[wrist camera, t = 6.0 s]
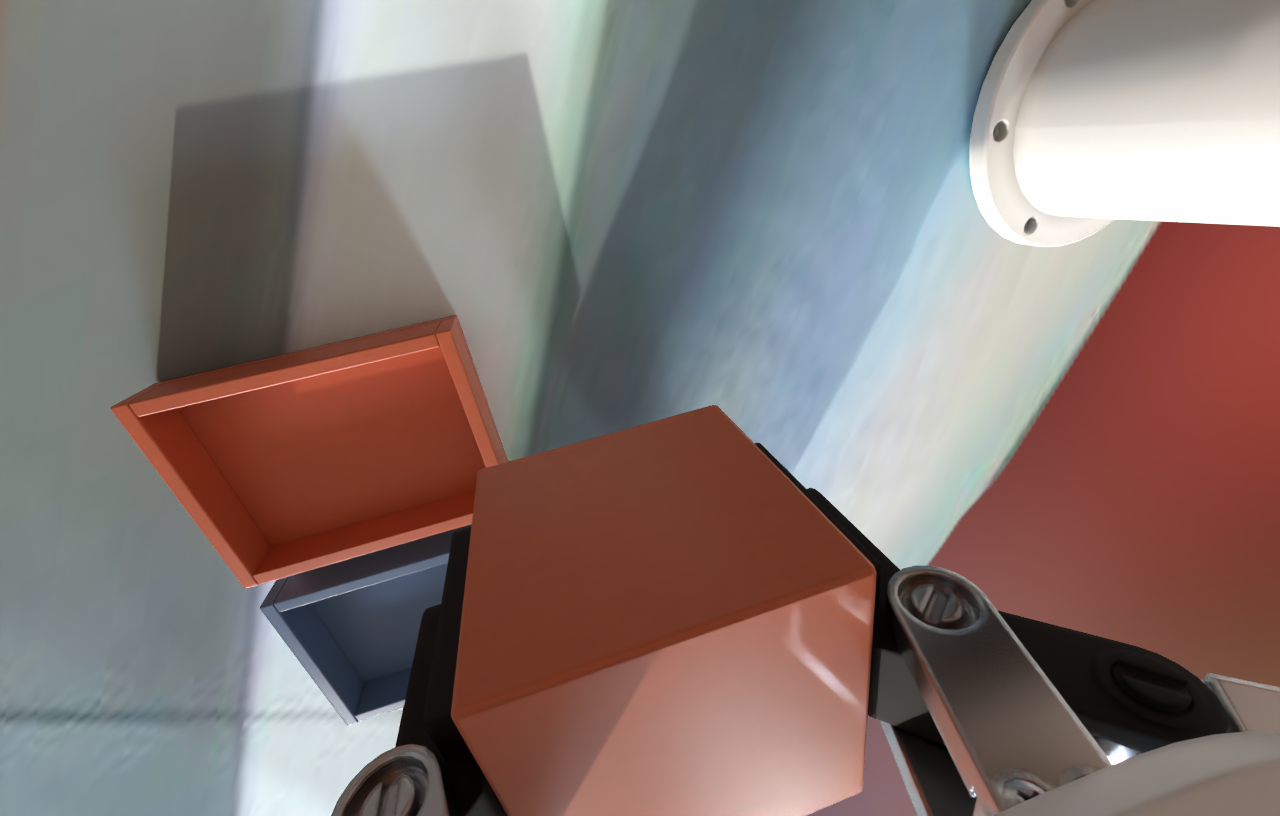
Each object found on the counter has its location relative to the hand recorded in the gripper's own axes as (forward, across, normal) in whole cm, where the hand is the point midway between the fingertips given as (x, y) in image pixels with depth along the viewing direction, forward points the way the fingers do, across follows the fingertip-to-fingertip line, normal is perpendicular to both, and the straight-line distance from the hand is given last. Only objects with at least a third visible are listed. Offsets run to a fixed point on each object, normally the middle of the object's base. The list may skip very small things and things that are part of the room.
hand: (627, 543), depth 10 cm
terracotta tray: (+14, +10, +2) cm, 18 cm away
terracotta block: (0, 0, 0) cm, 0 cm away
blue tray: (+14, +10, +12) cm, 22 cm away
